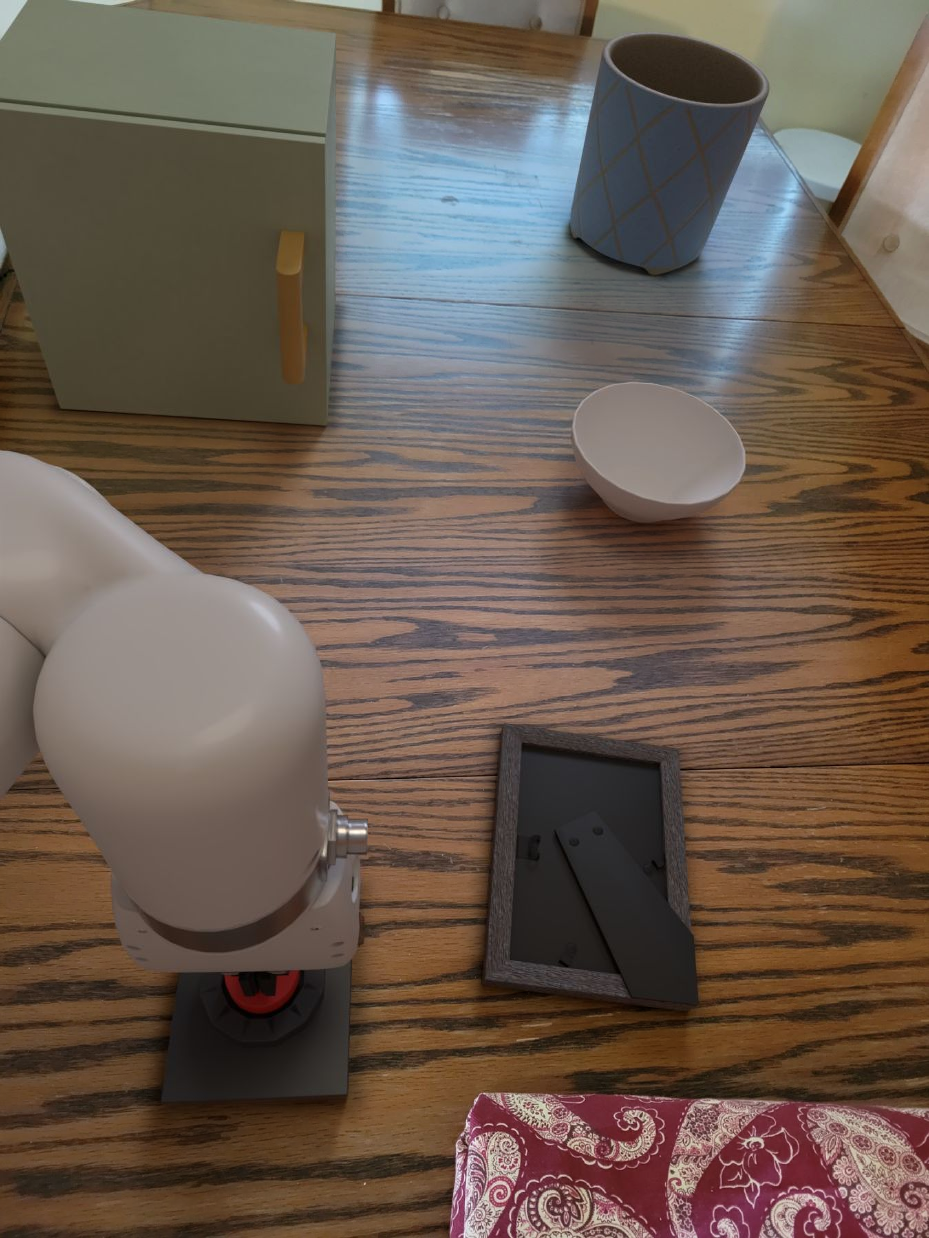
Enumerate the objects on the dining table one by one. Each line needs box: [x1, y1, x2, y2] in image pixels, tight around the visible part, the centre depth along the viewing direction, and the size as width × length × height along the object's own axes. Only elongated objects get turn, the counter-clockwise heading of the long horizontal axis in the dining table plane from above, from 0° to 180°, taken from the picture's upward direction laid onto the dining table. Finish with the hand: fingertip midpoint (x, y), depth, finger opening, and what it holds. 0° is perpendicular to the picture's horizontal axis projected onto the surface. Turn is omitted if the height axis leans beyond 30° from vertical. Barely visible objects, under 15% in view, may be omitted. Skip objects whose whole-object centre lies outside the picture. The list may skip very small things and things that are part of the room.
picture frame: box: [481, 722, 700, 1013], centre depth 57 cm, size 13×2×18 cm
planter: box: [569, 31, 771, 276], centre depth 101 cm, size 19×19×20 cm
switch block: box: [160, 891, 353, 1109], centre depth 49 cm, size 12×10×4 cm
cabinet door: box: [0, 102, 329, 426], centre depth 67 cm, size 7×24×26 cm, turn 93°
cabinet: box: [0, 0, 337, 409], centre depth 74 cm, size 18×24×26 cm
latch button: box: [225, 970, 299, 1014], centre depth 47 cm, size 4×4×2 cm
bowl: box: [570, 381, 746, 524], centre depth 78 cm, size 16×16×7 cm
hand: (263, 966), depth 46 cm, fingers closed
